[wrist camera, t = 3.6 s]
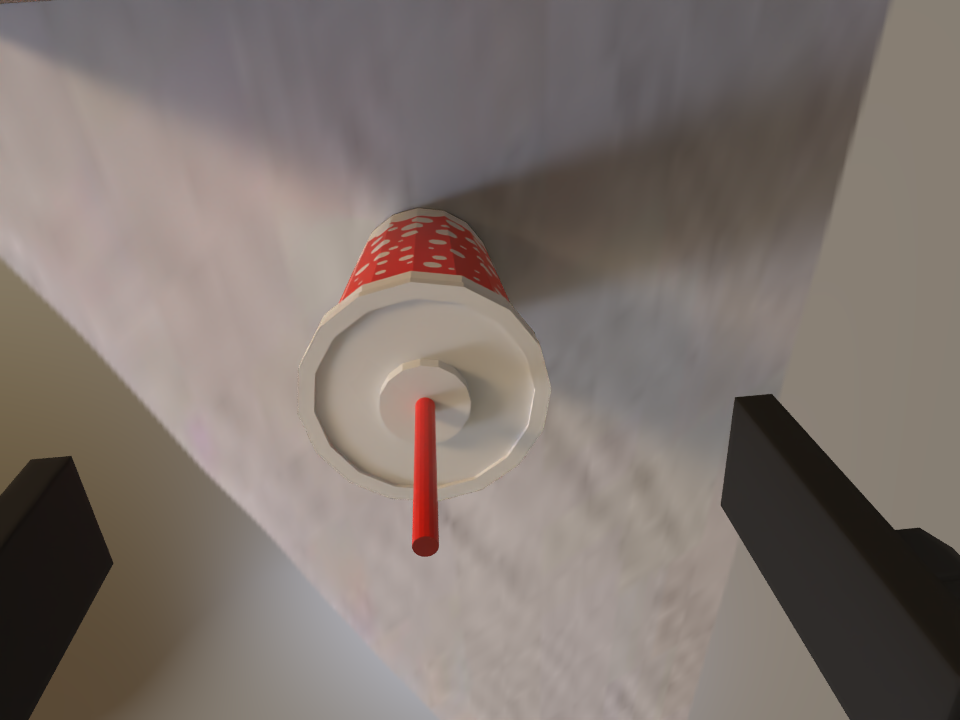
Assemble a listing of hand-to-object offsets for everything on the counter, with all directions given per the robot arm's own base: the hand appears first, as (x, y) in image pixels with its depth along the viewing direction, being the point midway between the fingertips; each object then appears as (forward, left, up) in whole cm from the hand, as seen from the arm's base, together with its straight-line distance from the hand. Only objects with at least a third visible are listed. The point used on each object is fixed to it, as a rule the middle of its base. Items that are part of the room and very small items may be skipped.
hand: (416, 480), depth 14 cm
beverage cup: (0, 0, -12) cm, 12 cm away
